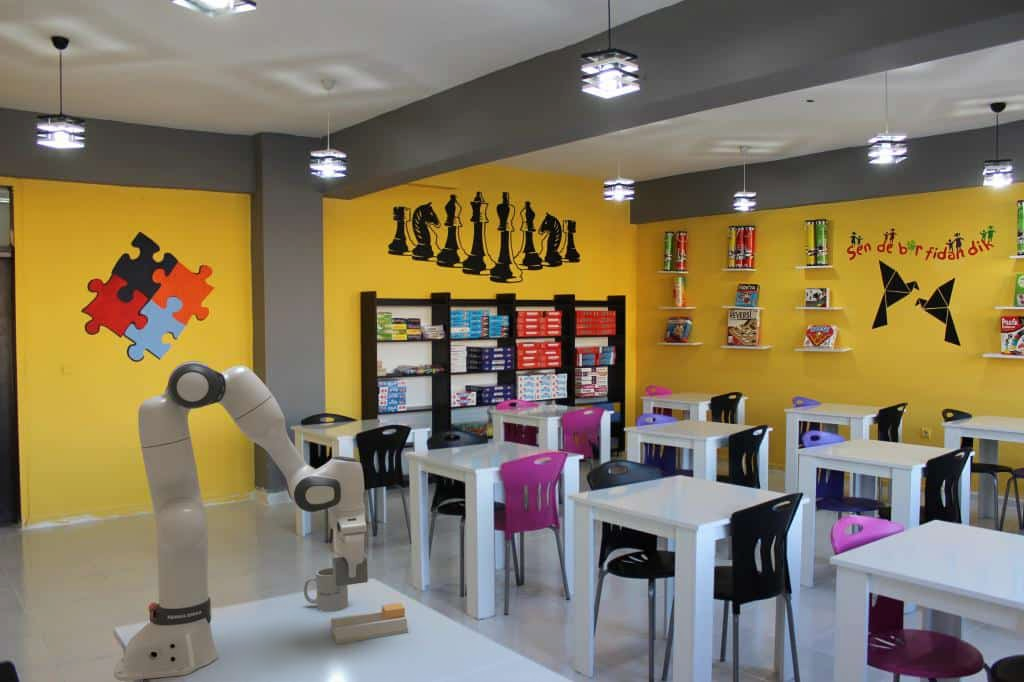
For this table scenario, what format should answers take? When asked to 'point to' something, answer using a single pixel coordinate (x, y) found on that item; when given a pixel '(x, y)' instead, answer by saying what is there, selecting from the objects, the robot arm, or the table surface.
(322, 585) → the mug
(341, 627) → the rail
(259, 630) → the table surface
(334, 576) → the block
